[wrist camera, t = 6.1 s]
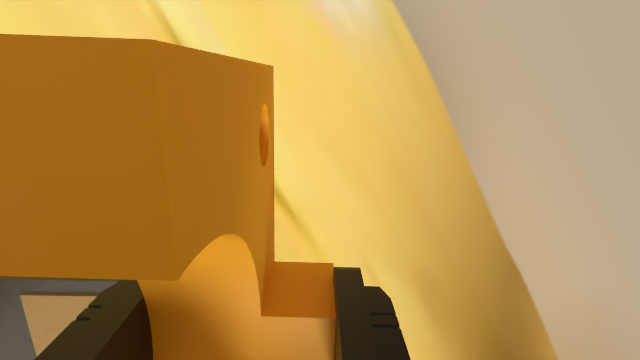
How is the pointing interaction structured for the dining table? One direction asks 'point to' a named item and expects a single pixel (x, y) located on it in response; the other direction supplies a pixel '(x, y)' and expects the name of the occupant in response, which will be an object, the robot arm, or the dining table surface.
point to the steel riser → (41, 311)
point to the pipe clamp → (156, 192)
